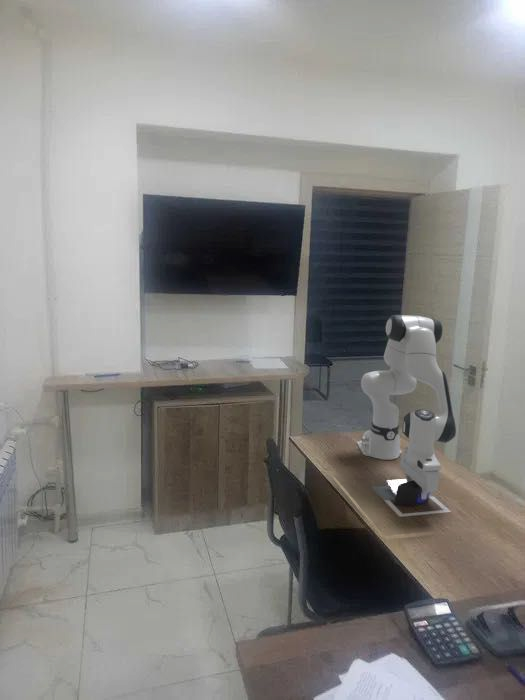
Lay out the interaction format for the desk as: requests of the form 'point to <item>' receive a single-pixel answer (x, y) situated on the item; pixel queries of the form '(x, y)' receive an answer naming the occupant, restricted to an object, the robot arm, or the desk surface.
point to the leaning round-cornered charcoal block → (409, 494)
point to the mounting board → (387, 496)
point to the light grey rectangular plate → (395, 485)
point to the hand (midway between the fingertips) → (415, 491)
